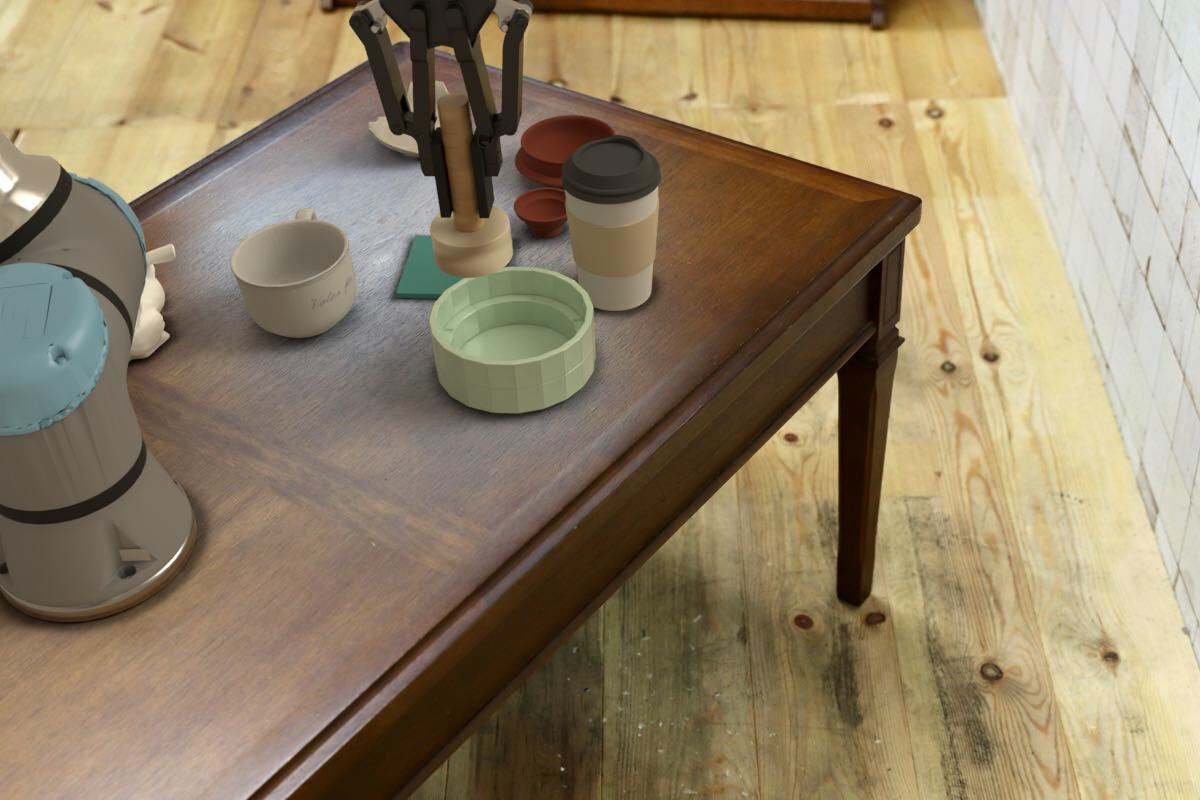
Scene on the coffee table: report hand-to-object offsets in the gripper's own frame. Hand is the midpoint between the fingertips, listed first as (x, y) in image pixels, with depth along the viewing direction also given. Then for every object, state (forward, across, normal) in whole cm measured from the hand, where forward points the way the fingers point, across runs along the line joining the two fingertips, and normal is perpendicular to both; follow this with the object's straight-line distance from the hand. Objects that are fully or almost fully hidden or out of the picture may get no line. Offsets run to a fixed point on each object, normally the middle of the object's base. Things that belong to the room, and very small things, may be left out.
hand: (467, 208), depth 109 cm
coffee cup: (+19, +9, +16) cm, 27 cm away
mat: (+19, -7, +18) cm, 27 cm away
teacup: (+19, -20, +11) cm, 29 cm away
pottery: (+19, +2, +32) cm, 38 cm away
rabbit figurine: (+19, -34, +6) cm, 39 cm away
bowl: (+19, +2, +4) cm, 19 cm away
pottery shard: (+19, -15, +42) cm, 49 cm away
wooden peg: (+5, 0, 0) cm, 5 cm away
